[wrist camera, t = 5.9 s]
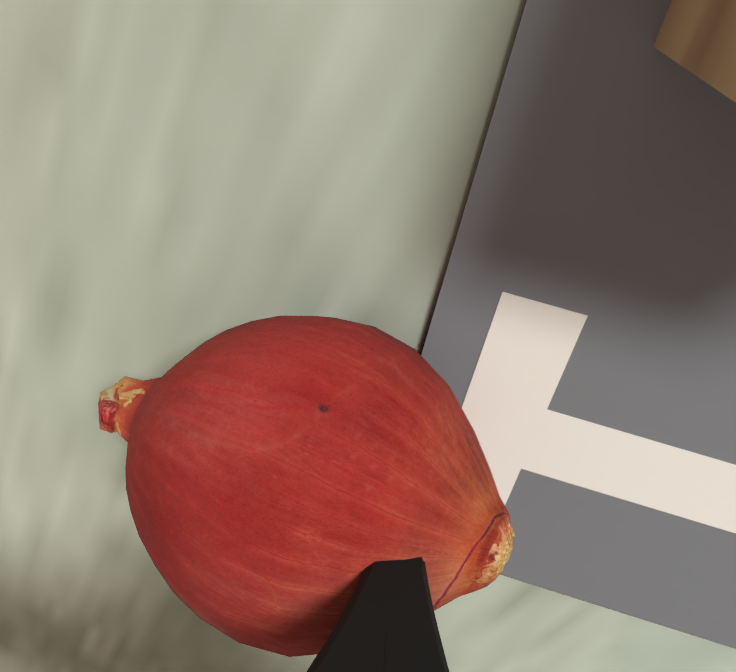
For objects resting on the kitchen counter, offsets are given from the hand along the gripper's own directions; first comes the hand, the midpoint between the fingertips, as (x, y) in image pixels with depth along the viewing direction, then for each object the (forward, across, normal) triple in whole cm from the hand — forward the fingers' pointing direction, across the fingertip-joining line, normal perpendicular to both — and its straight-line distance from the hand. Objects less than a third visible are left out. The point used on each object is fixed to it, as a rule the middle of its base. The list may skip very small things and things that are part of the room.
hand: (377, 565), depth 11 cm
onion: (0, -2, 0) cm, 2 cm away
